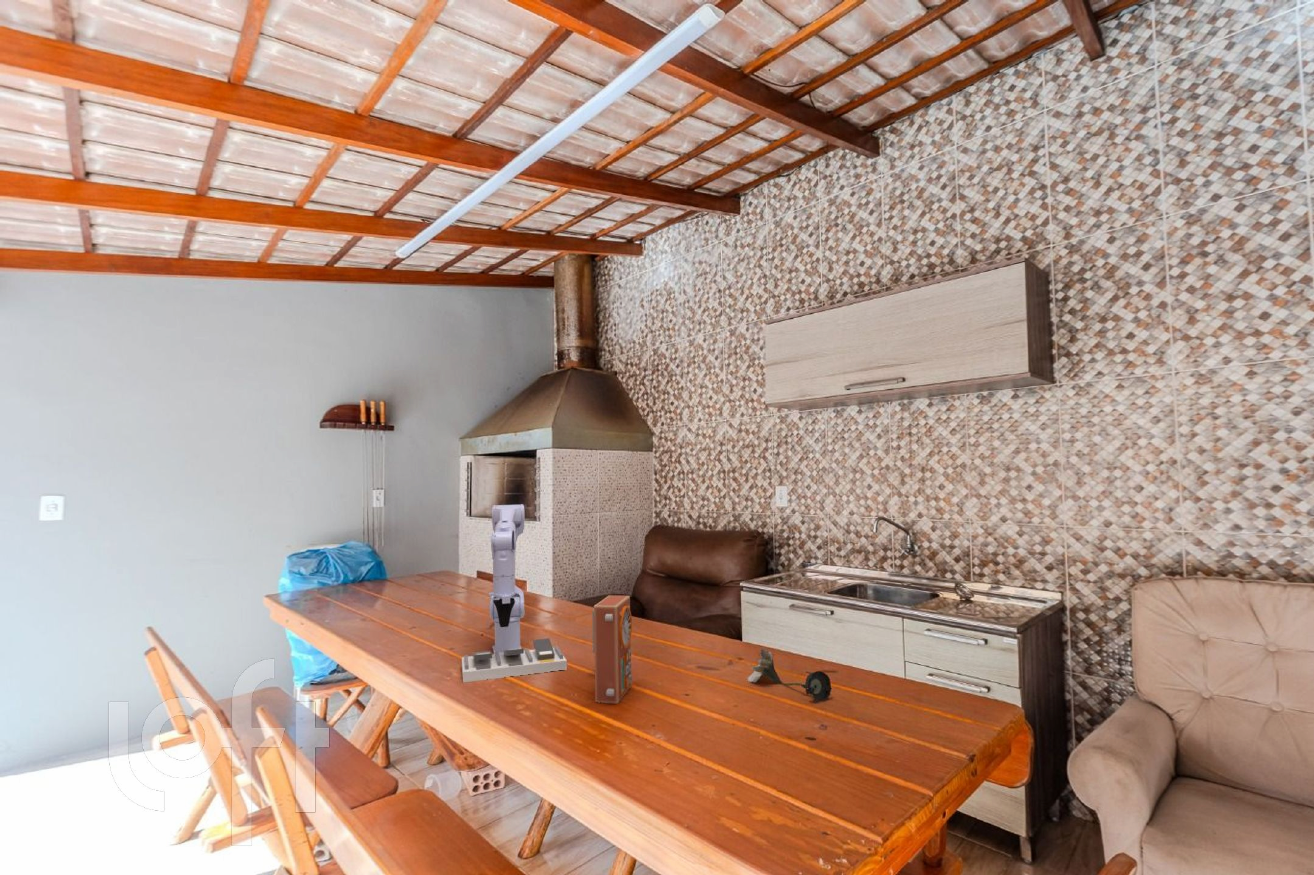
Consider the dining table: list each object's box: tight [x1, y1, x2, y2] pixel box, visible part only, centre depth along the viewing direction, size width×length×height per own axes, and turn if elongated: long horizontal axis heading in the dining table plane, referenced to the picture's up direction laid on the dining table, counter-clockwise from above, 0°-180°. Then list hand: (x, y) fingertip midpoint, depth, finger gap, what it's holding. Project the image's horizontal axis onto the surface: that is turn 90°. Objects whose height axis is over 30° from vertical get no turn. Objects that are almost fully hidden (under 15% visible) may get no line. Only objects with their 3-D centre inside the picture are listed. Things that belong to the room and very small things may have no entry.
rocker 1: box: [472, 650, 493, 660], centre depth 167 cm, size 9×4×1 cm, turn 18°
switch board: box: [461, 645, 568, 683], centre depth 169 cm, size 14×26×4 cm, turn 108°
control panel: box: [591, 594, 633, 705], centre depth 149 cm, size 21×7×15 cm
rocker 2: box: [532, 637, 555, 660], centre depth 172 cm, size 9×4×1 cm, turn 18°
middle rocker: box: [504, 647, 525, 655], centre depth 170 cm, size 9×4×1 cm, turn 18°
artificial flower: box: [746, 648, 833, 704], centre depth 149 cm, size 9×22×10 cm, turn 31°
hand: (504, 626), depth 173 cm, fingers closed
